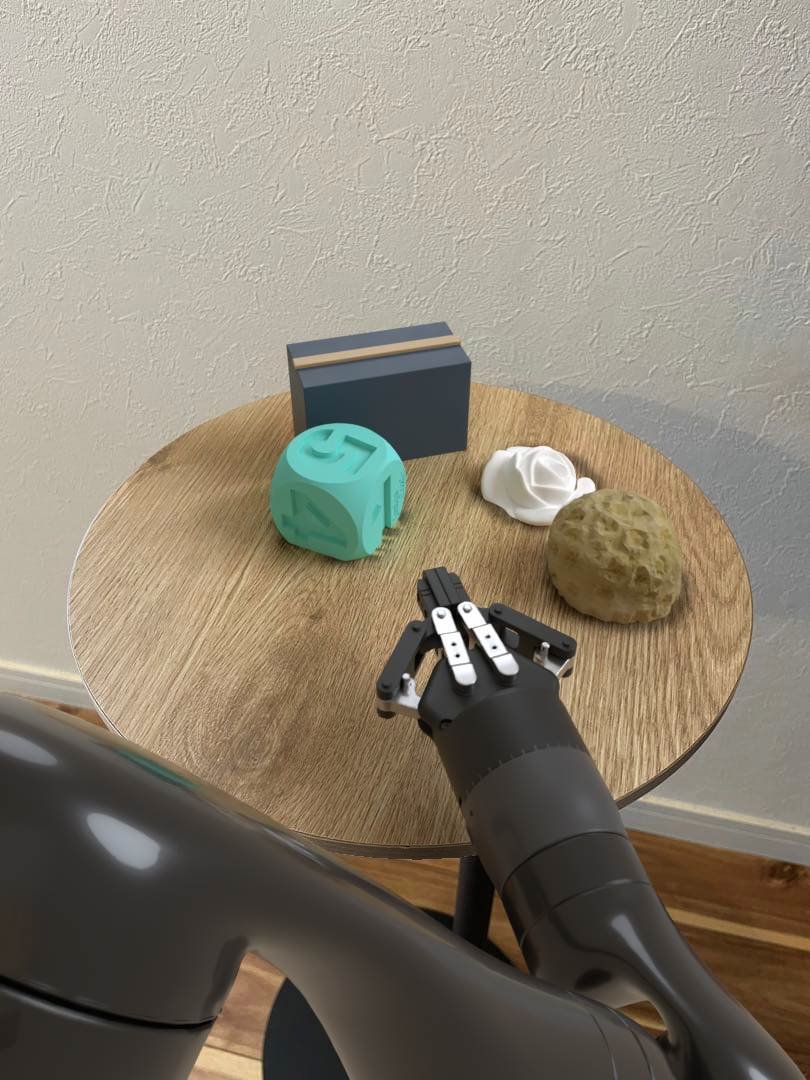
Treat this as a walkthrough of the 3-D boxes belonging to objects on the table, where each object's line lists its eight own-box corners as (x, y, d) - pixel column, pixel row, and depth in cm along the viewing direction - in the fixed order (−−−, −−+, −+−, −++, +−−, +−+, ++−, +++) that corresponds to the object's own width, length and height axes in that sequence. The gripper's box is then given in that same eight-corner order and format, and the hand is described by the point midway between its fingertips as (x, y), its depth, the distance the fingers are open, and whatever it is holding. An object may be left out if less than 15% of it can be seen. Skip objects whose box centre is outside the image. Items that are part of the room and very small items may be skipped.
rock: (586, 677, 72) (670, 629, 64) (497, 554, 73) (568, 492, 65) (660, 619, 77) (745, 568, 69) (575, 506, 79) (650, 443, 71)
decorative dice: (362, 577, 74) (359, 496, 69) (273, 547, 77) (263, 467, 72) (407, 516, 80) (407, 437, 74) (322, 490, 82) (316, 412, 77)
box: (310, 487, 83) (302, 385, 76) (294, 441, 88) (285, 340, 81) (467, 460, 86) (472, 358, 79) (442, 416, 91) (445, 317, 84)
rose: (466, 427, 82) (575, 412, 83) (464, 469, 85) (569, 454, 86) (502, 501, 74) (620, 483, 76) (498, 544, 77) (612, 526, 79)
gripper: (658, 724, 50) (531, 515, 62) (412, 786, 47) (330, 554, 59) (635, 806, 55) (521, 597, 67) (411, 867, 52) (336, 637, 64)
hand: (432, 577), depth 63 cm, fingers closed
